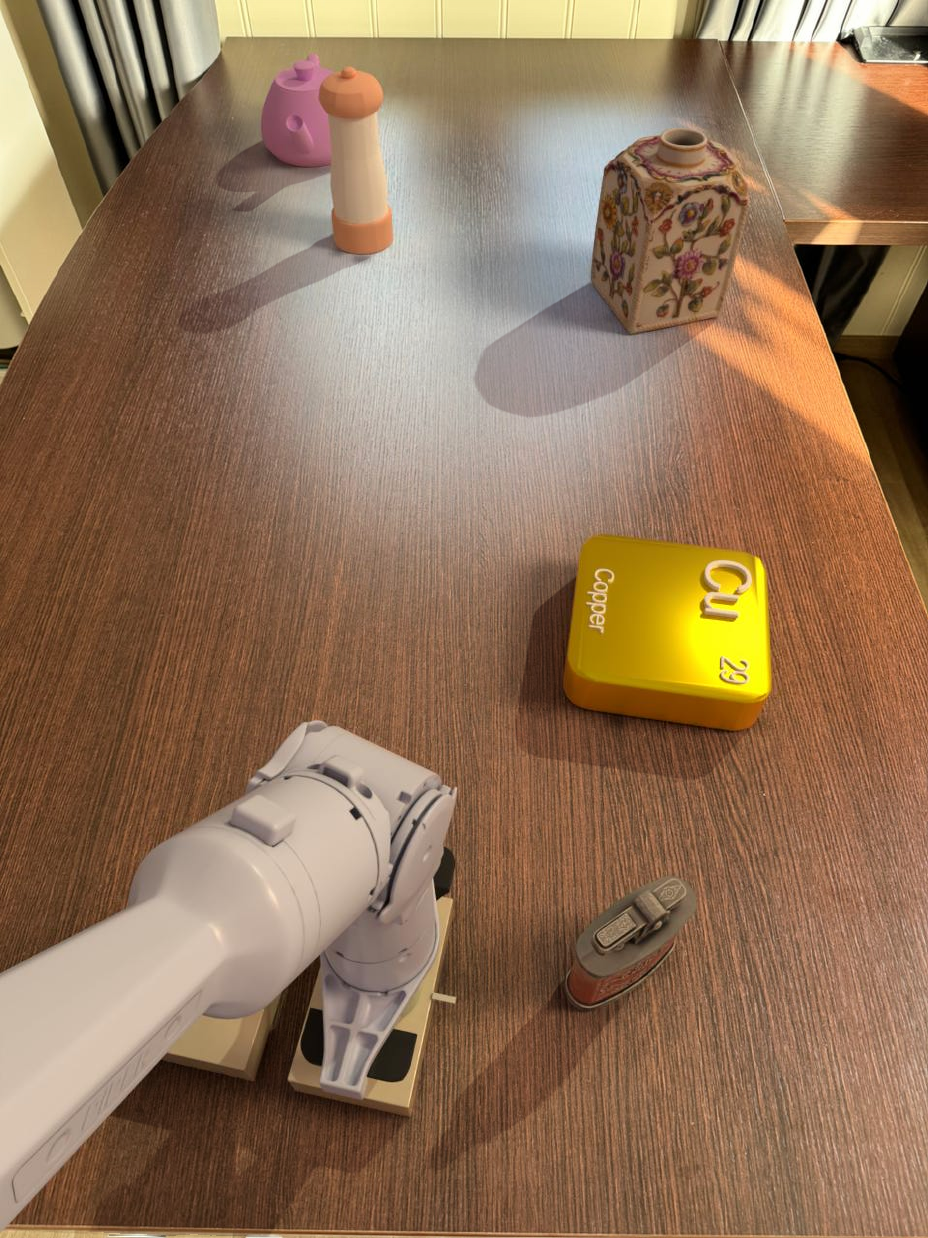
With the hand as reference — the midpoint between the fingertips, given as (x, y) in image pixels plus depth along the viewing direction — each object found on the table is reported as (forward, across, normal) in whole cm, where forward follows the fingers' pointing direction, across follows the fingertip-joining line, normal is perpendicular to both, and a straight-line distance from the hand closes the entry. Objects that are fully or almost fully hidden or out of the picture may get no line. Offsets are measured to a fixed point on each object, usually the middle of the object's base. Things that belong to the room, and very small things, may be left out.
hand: (390, 985), depth 53 cm
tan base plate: (+3, 0, -10) cm, 11 cm away
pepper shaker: (+4, -86, -26) cm, 90 cm away
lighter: (+4, -5, +14) cm, 15 cm away
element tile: (+4, -31, +14) cm, 34 cm away
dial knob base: (+3, 0, -1) cm, 4 cm away
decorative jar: (+4, -80, +10) cm, 81 cm away
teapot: (+4, -107, -39) cm, 114 cm away
